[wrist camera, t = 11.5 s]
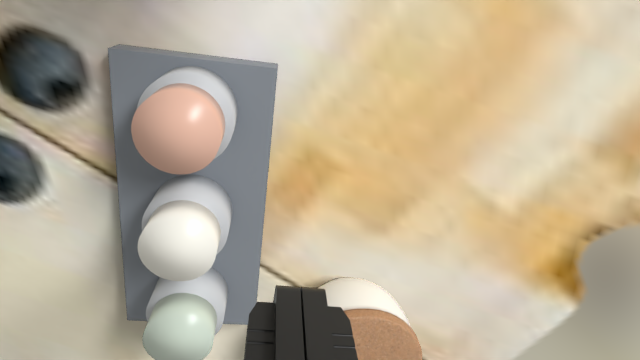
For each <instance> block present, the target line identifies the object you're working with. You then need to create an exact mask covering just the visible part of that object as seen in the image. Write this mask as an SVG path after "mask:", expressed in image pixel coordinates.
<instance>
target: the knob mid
mask: <svg viewBox="0 0 640 360" xmlns="http://www.w3.org/2000/svg"><path fill="white" fill-rule="evenodd" d="M220 236H221V229H220V225H219V222H218V220H217V218H216V217H215V215H214V214H213V213H212V212H211V211H210V210H209V209H208V208H206V207H205V206H203V205H201V204H199V203H196V202H193V201H188V200H175V201H170V202H168V203H165V204H163V205H161V206H160V207H158V208H157V209H156V210H155V211H154V213H153V214H152V216H151V217H150V219H149V221H148V223H147V224H146V226H145V228H144V230H143V231H142V233H141V235H140V237H139V240H138V254H139V257H140V259H141V261H142V263H143V264H144V265H145V267H146V268H147V269H148V270H150V271H151V272H152V273H154V274H155V275H157V276H159V277H161V278H164V279H167V280H171V281H189V280H193V279H196V278H198V277H200V276H202V275H203V274H205V273H206V272H207V271H208V270H209V269H210V268H211V267H212V265H213V263H214V261H215V258H216V254H217V249H218V245H219V241H220Z"/></svg>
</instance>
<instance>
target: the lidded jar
mask: <svg viewBox="0 0 640 360" xmlns="http://www.w3.org/2000/svg"><path fill="white" fill-rule="evenodd" d="M319 288H321V289H325V291H326V297H327V304H328V306H332V307H341V308H342V310H343V311H344V312H345V314H346V315H347V317H348V318H349V319H350V322H351V327H352V332H353V337H354V342H355V349H356V352H357V357H358V360H422V351H421V346H420V344H419V341H418V339H417V337H416V334H415V333H414V331H413V330H412V328H411V325H410V323H409V321H408V319H407V316H406V315H405V313H404V311H403V310H402V308H401V307H400V305H399V304H398V303H397V301H396V300H395V299H394V298H393V297H392V296H391V295H390V294H389V293H388V292H387V291H386V290H385V289H383V288H382V287H380V286H379V285H377V284H375V283H372V282H370V281H367V280H364V279H359V278H350V277H343V278H337V279H334V280H331V281H329V282H327V283H325V284H324V285H322V286H320V287H319Z"/></svg>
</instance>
